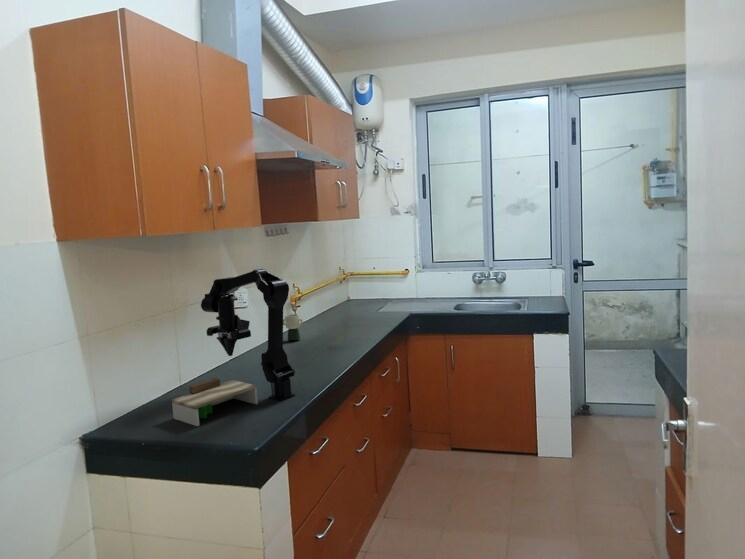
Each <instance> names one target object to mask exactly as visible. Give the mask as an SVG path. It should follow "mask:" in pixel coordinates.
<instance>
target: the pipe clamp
mask: <svg viewBox="0 0 745 559" xmlns="http://www.w3.org/2000/svg"><path fill="white" fill-rule="evenodd" d="M197 409H198V414H199V419H206V418H208V414H209V415H210V414H213V413H214V412H213V406H212V403H211V404H208V405H206V406H203V407H200V408H197Z"/></svg>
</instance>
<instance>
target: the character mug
mask: <svg viewBox="0 0 745 559" xmlns="http://www.w3.org/2000/svg"><path fill="white" fill-rule="evenodd" d="M303 324H304V323H303V318H300V314H298V313H297V314H296V313H294V314H293V313H292V314H291V313H290V314H287V315H284V318H283V326H285V328H286V329H288V330H287V340H288V341H289V340H295V341H296V340H297V339H299V340H301V336H300V330H299V329H298V328H300V327H301V326H303ZM297 341H298V340H297Z"/></svg>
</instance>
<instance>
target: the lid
mask: <svg viewBox="0 0 745 559" xmlns="http://www.w3.org/2000/svg"><path fill="white" fill-rule="evenodd" d="M220 380H221V379H220V378H217V377H215V378H211V379H208V380H205V381H202V382H199V383H194V384H193V385H190V386H188V388H189V389H188V390H189V393H187V394H185V395H182V396H179V397H175V398H172V399H171V402H172V403H173V402H174V403H177V404H181V405H184V406H187V407H191V408H194V409H197V408H200V407H203V406H206V405H208V404H211V403H214V402H217V401H220V400H223V399H226V398H229V397H231V396H234V395H237V394H240V393H243V392H246V391H249V390H252V389H255V388H256V389H257V388H258V387H257V385H256V384H251V383H248V382H243V381H239V380H233V379H232V380H229V381H228V380H227V381H226V382H222V383H221V382H220Z"/></svg>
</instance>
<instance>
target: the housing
mask: <svg viewBox="0 0 745 559" xmlns="http://www.w3.org/2000/svg"><path fill="white" fill-rule="evenodd" d="M257 391H258V390H257V388H255V389H252V390H249V391H246V392H243V393H240V394H237V395H234V396H231V397H229V398H226V399H223V400H220V401H217V402H214V403H212V407H213V406H216V405H218V404H221V403H224V402H228V401H229V400H233V399H234V400H239V401H242V402H245V403H249V404H254V405H258V404H259V401H258V400H259V398H258V392H257ZM171 405H172V407H171V408H172V415H173V419H174V420H177V421H180V422H183V423H186V424H189V425H193V426H196V427H199V426H200V418H199V414H198V409H194V408H191V407H187V406H184V405H181V404H177V403H174V402H172V403H171Z"/></svg>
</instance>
